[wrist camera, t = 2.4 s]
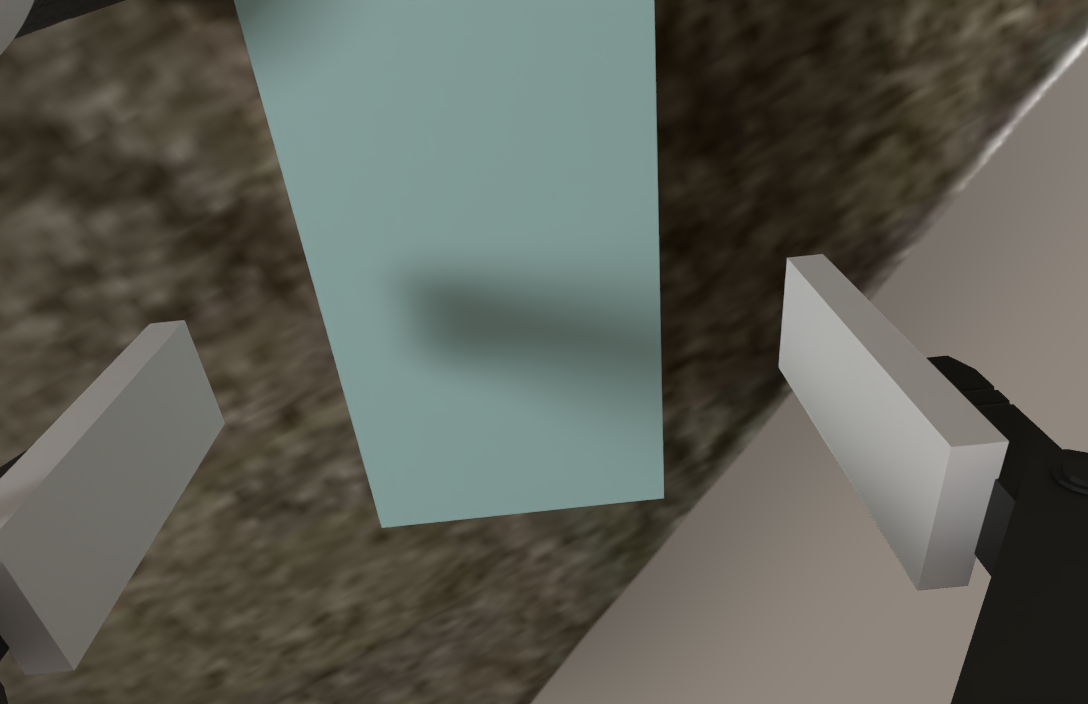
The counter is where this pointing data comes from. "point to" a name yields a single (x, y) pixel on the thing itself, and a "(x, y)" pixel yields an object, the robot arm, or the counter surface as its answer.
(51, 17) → the coffee cup
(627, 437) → the lid
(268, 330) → the counter surface
